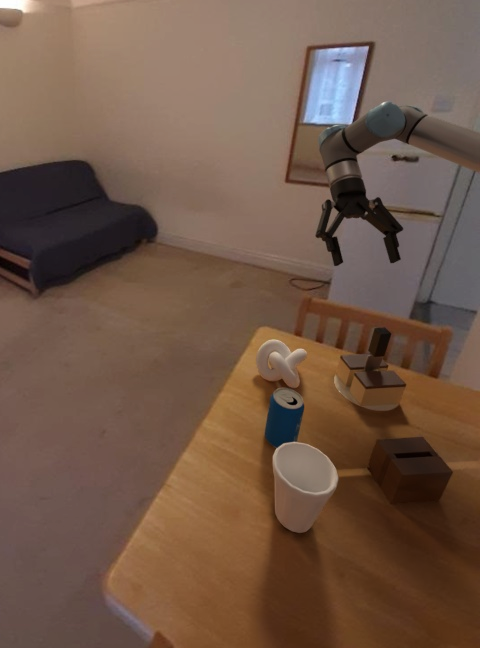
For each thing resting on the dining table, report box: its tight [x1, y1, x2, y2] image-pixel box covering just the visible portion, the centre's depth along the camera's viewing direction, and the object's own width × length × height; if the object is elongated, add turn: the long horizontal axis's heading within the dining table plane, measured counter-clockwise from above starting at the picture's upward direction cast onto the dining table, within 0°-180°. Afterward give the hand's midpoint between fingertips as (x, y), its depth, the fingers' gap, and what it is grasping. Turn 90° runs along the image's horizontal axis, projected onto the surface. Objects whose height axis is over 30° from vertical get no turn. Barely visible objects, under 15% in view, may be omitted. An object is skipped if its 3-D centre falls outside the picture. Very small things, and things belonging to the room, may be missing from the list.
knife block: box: [366, 436, 454, 505], centre depth 75 cm, size 9×7×8 cm
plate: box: [333, 374, 400, 412], centre depth 98 cm, size 14×14×1 cm
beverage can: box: [264, 387, 305, 448], centre depth 84 cm, size 6×6×12 cm
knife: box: [363, 326, 392, 372], centre depth 94 cm, size 3×2×17 cm
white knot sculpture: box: [255, 339, 308, 389], centre depth 102 cm, size 11×12×9 cm
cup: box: [272, 441, 339, 534], centre depth 69 cm, size 10×10×13 cm
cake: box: [335, 353, 407, 407], centre depth 96 cm, size 9×11×6 cm
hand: (367, 263), depth 95 cm, fingers open, 13 cm apart
